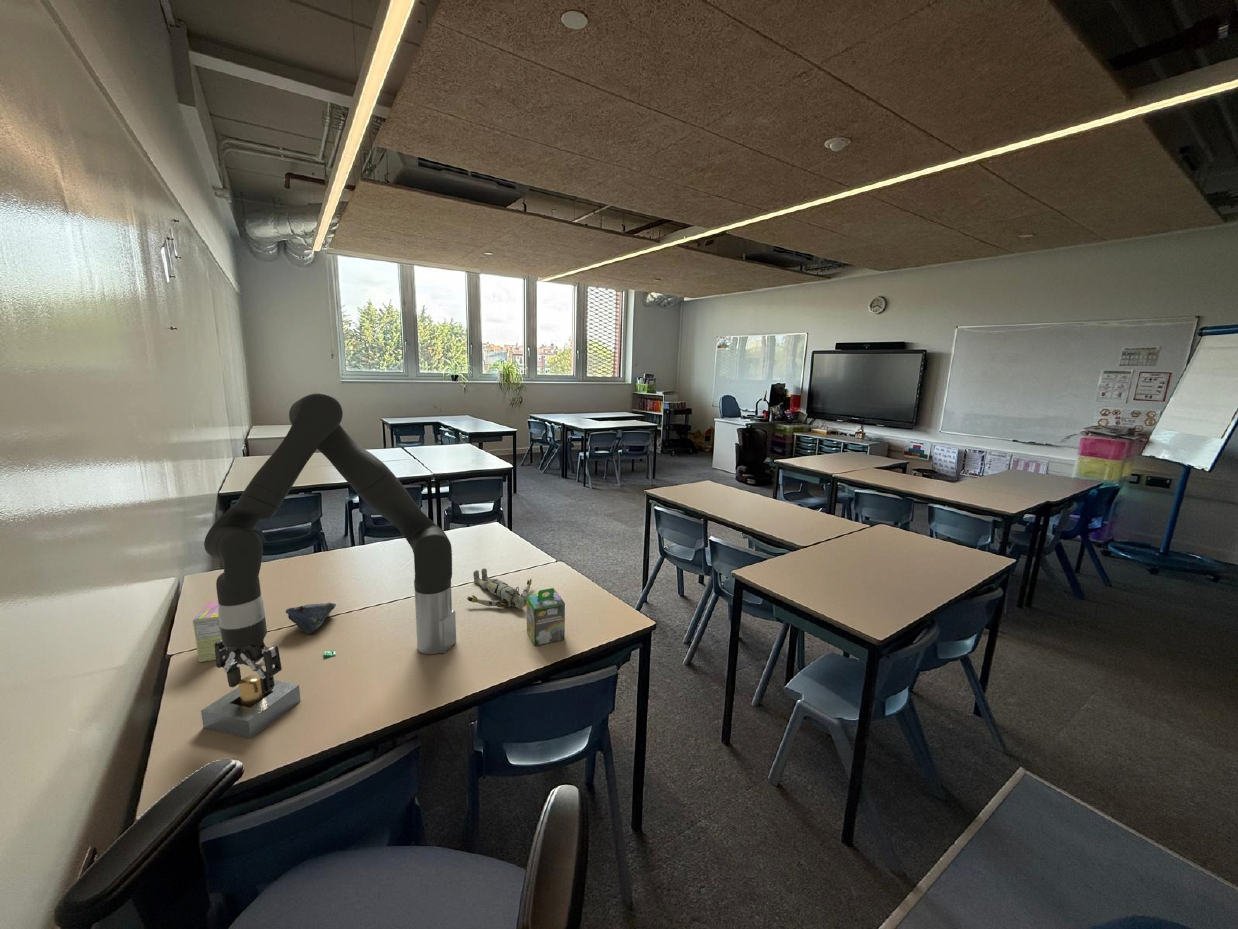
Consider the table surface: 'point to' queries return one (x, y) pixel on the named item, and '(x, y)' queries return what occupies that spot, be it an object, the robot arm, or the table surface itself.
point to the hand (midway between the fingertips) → (251, 688)
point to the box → (207, 632)
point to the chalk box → (545, 617)
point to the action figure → (500, 591)
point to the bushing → (250, 691)
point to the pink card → (329, 653)
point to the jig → (250, 710)
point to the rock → (310, 616)
